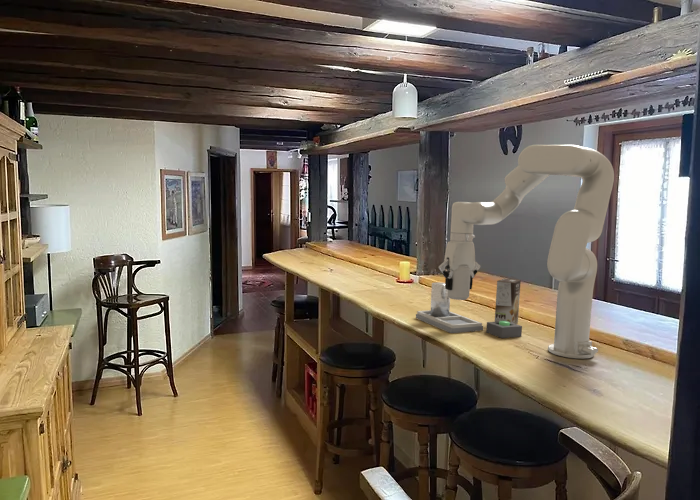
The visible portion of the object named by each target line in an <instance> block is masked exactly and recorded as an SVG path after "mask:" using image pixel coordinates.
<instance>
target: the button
mask: <svg viewBox="0 0 700 500" xmlns="http://www.w3.org/2000/svg"><path fill="white" fill-rule="evenodd" d="M499 325H502V326H510V322H507V321H499Z"/></svg>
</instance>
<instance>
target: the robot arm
mask: <svg viewBox="0 0 700 500" xmlns="http://www.w3.org/2000/svg"><path fill="white" fill-rule="evenodd" d="M517 164H518V165H517V166H516V167H514V169H512V170H511V171H509V173H508V174H506V176H505V177H504V183H505V188H504V189H503V191H502V192H501V193H500V194H499V195H497V197H495V198H494V199H493V200H492V201H487V202H486V201H476V202H475V201H474V202H470V201H469V202H468V201H456V202H453V203H452V205H451V220H450V236H449V237H450V239H449V240H450V241H447V244H446V248H445V252H444V259H443V262H442V263H441V264H440V265H438V269H439V270H440V273H441V274H442V276H443V277H444V279H445V280H444V281H445V282H444V283H445V289H447V290H452V282H453V279H451V277H452V275H453V271H455V270H456V269H457V268H458V267H459V265H462V266H465V265H469V268H470V269H471V274H470V290H472V289H473V281H474V278H476V277H475V276H476V275H477V274H478V271H479V270H480V268H481V264H479V263H478V262H477V261H476V253H475V252H476V249H475V244H474V242H473V239H476V235H475V234H474V225H476V226H486V225H496V224H498V223H500V222H501V221H504V219H506V218H507V217H508V216H509V215H511V214H512V213H513V212H514V211H515V210H516V209H517V208H518V207H519V206H520V204H521V202H522V201H523V200H524V197H525V196H526V195H527V194H529V193H530V192H531V191H532V190H533V189H535V188H536V187H537V186H538V185H539V184H541V183H542V182H543V181H545V180H546V178H548V177H550V176H565V177H566V176H567V177H575V178H581V179H582V183H581V185H580V187H579V189H578V192H577V195H576V200H575V205H574V207H573V209H571V210H568V211H566V212H564V213H563V214H562V215H560V217H559V218H558V219H557V222H556V223H555V225H554V229H553V233H552V238H551V243H550V247H549V251H548V256H547V261H546V262H547V264H546V265H547V266H546V267H547V271H548V273H549V275H550V276H551V277H552V278H553V279H554V280H556V281H558V282H559V283H558V287H557V296H556V297H557V298H556V309H555V310H556V311H555V324H554V325H555V326H554V339H553V340H554V341H553V343H552V344H549V345H548V347H547V350H548V352H550V353H551V354H553V355H556V356H559V357H564V358H567V359H568V358H569V359H579V360H581V359H583V360H584V359H591V358H593V357H594V356H596V354H597V353H598V352H599V348H597V347H595V346H593V345H592V344H593V341H592V340H590V334H591V333H590V332H591V322H592V321H591V320H592V308H593V296H594V287H595V281H596V278H597V277H596V276H597V273H598V272H597V271H598V260H597V257H596V255H595V253H594V252H593V251H592V250H591V249H589V248H587V245H588V243H589V244H590V243H592V242H594V241H596V240H597V239H599V238H600V237H601V234H602V233H603V229H604V224H605V219H606V216H607V211H608V208H609V203H610V199H611V195H612V190H613V187H614V181H615V172H614V168H613V165H612V163H611V160H609V159H608V157H606V156H605V155H604V154H603V153H601V152H599V151H598V150H595V149H593V148H590V147H586V146H585V147H584V146H580V145H576V144H532V145H531V144H530V145H528V146H526V147H525V148H524V149H522V151H521V152H520V154H519V155H518V159H517ZM449 268H450V269H449ZM449 271H450V273H449Z"/></svg>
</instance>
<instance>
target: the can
mask: <svg viewBox="0 0 700 500" xmlns="http://www.w3.org/2000/svg"><path fill="white" fill-rule="evenodd" d="M449 269H450V268H449ZM449 273H450V271H449ZM470 274H471V269H470V268H469V265H465V266H462V265H459V267H458V268H457V269H456V270H455V271H453V275H452V277H451V279H453V282H452V290H448V291H447V295H448V296H449V298H450V300H458V301H465V300H467V299H468V298H470V291H471V289H470Z"/></svg>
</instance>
